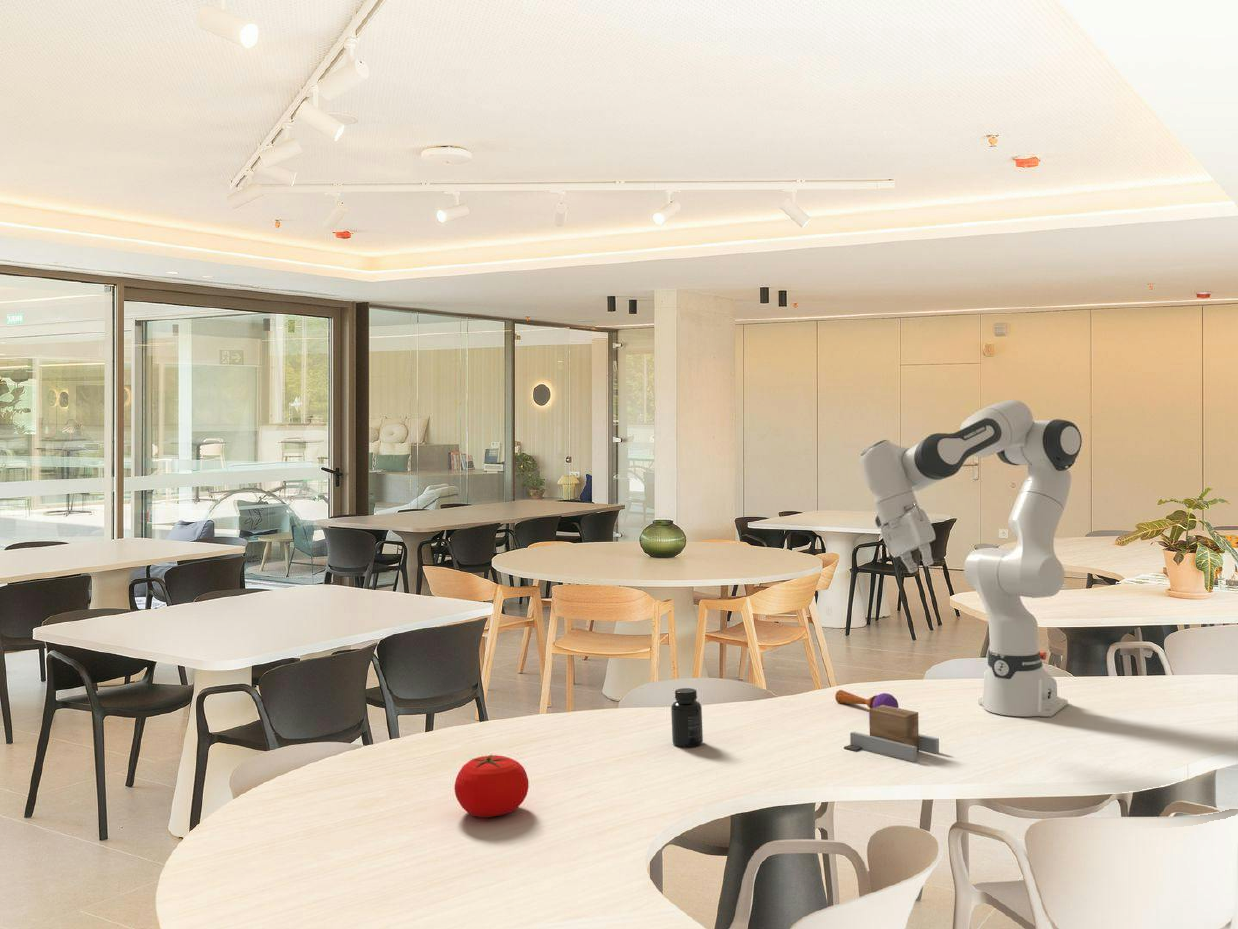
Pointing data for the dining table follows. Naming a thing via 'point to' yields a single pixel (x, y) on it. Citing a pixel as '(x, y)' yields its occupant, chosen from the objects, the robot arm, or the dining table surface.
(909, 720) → the block
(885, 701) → the purple maraca
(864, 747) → the channel
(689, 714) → the supplement bottle
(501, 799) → the tomato
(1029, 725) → the dining table surface
